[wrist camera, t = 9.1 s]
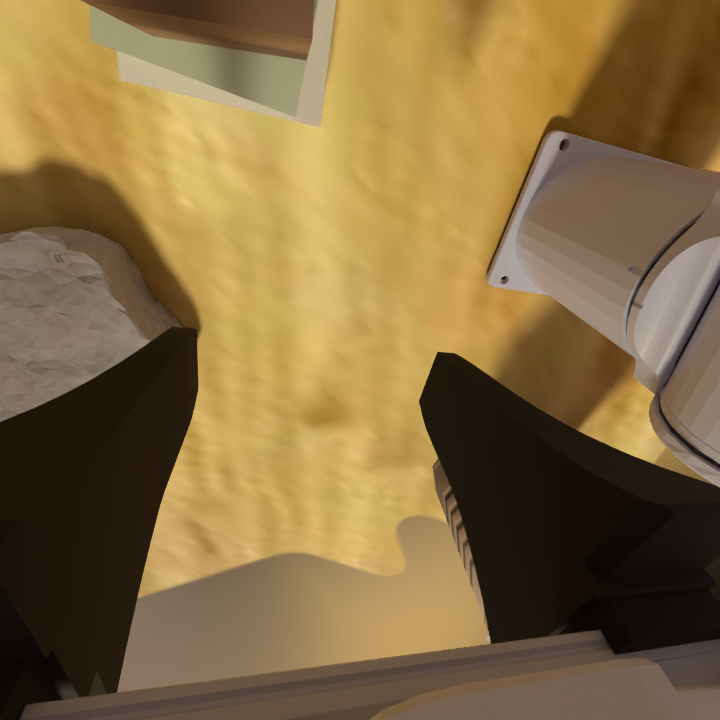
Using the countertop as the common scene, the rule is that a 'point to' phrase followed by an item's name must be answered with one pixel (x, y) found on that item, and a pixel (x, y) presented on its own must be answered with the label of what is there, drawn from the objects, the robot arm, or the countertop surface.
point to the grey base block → (180, 84)
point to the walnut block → (223, 22)
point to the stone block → (68, 313)
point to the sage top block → (209, 63)
